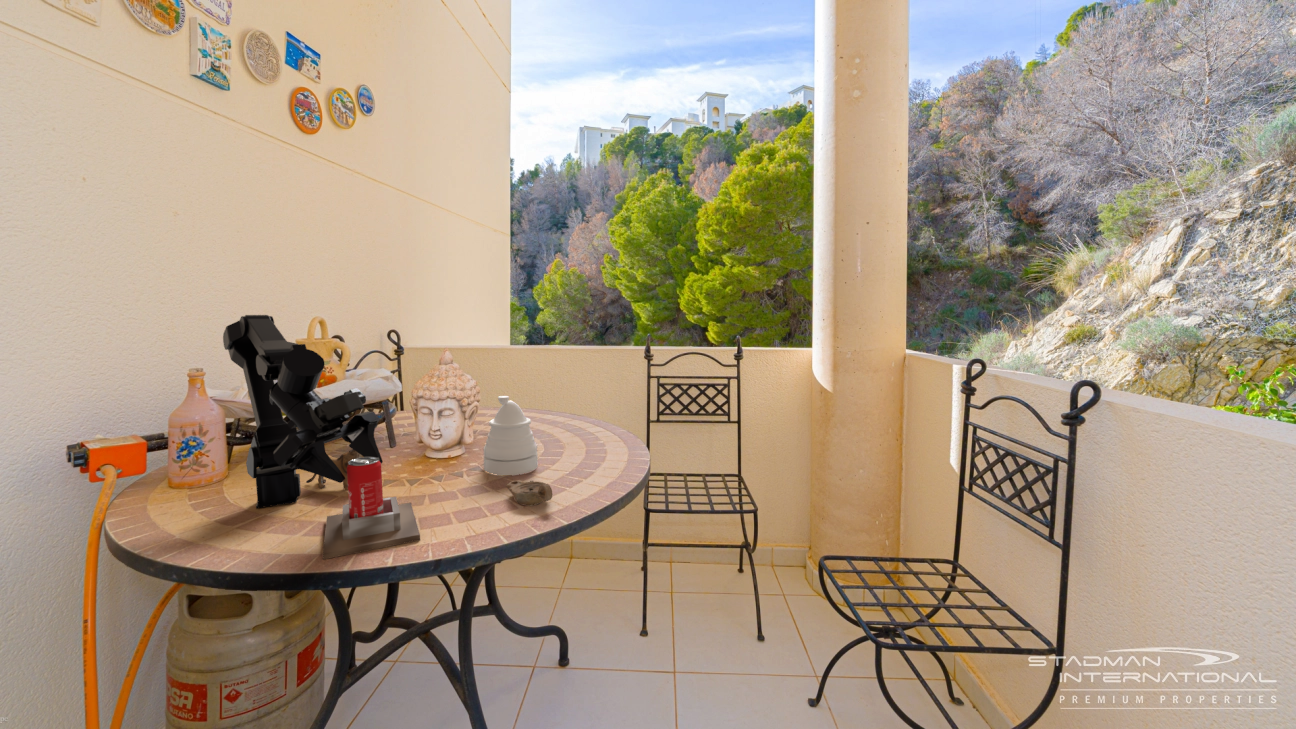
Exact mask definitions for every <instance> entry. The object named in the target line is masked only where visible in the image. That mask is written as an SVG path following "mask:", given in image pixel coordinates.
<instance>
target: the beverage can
mask: <svg viewBox="0 0 1296 729" xmlns="http://www.w3.org/2000/svg"><path fill="white" fill-rule="evenodd" d="M382 472H383V471H382V464H381V462H380V461H379V458H377V457H361V458H356V459H353V460H351V461H349V462H348V466H347V480H348V490H347V495H348V504H349V515H350V519H354V518H360V517H366V516H372V515H378V514H384V511H383V498H384V496H383V495H384V492H383V479H382V478H383V474H382Z"/></svg>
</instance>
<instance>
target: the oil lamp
mask: <svg viewBox="0 0 1296 729" xmlns="http://www.w3.org/2000/svg"><path fill="white" fill-rule="evenodd" d="M506 488H507V490H508V491H509V492H510V493H511V495H512V497H513V499H514V500H515V502H516V503H517V504H519V505H524V506H535V505H536V506H537V505H538V504H541V503H542V502H544V503H545V502H548V501H551V500H552V498H553V490H552V487H551V485H550V484H548V483H546V482H541V481H534V480H529V481H522V479H520V480H519V479H518V480H513V481H510V482H509V483H508V484H506Z"/></svg>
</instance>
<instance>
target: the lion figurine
mask: <svg viewBox="0 0 1296 729" xmlns="http://www.w3.org/2000/svg"><path fill="white" fill-rule="evenodd" d="M327 455H328V456H329V457H330V458H331V460H332V461H333V462H334V463H335V465H336V466H337V467H338V468H339V470H340V471H341V472H342V474H343V475H344V477H345V480H344V481H343V482H342V486H343V490H344V491H347V492H348V480H347V466H348V462H349V461H351V460H353V459H356V458H361V457H364V456H362V455H361V454H359V453H358V452H356V451H355V450H353V449H352V448H351V450H350V449H349V451H347V452H345V453H342V454H341V455H340V456H339V457H333V456H332V455H329V454H327ZM316 476H317V474H314V473H313V476H312V477H311V478H309V479H308V480H306V481H305V483H308V484H309V483H312V482H313V481H314V479H316ZM317 481H318V488H319V489H324V488H326V486H327V485H326V484H324V483H326V482H327V478H326V479H325V477H323V476H320V475H318V479H317Z"/></svg>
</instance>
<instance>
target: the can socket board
mask: <svg viewBox="0 0 1296 729" xmlns="http://www.w3.org/2000/svg"><path fill="white" fill-rule="evenodd" d="M383 511H384V514H378V515H372V516H366V517H360V518H354V519H350V515H349V503H347V504H342V512H341V513H340V514H334V515H332V514H331V515H327V516H326V521H325V529H324V530H325V531H324V538H323V539H324V540H323V548H322V560H328V559H333V558H338V557H342V556H343V557H344V556H347V555H353V554H356V553H357V554H358V553H362V552H367V551H372V550H379V549H382V548H386V547H387V548H389V547H392V546H398V545H403V544H409V543H412V542H418V541H421V534H420V530H419V527H418V523H417V520H416V515H415V513H414V509H413V505H412V502H407V503H401V504H399V503H398V499H397V496H391V497H385V498H384V497H383Z"/></svg>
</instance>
